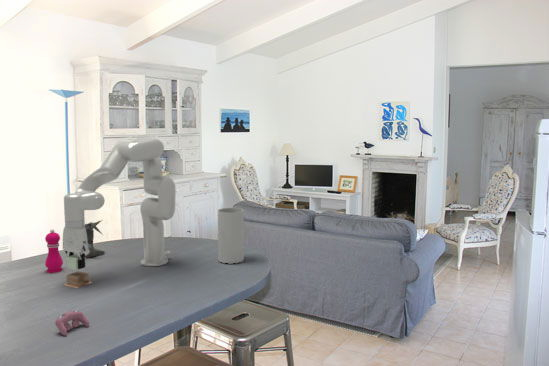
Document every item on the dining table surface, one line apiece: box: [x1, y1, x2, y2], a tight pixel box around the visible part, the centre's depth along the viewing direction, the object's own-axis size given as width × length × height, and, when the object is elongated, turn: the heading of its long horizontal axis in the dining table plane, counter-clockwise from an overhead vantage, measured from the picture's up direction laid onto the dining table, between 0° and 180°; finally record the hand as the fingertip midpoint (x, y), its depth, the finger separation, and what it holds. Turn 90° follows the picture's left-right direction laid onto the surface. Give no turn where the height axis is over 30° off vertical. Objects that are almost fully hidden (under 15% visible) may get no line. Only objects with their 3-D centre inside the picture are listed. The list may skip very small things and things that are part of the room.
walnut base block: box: [66, 270, 90, 287], centre depth 208 cm, size 6×6×4 cm
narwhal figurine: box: [85, 219, 105, 259], centre depth 248 cm, size 14×15×18 cm
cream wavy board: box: [63, 281, 93, 289], centre depth 213 cm, size 17×15×1 cm
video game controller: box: [54, 310, 90, 337], centre depth 167 cm, size 10×5×7 cm, turn 146°
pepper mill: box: [44, 229, 64, 274], centre depth 223 cm, size 7×7×20 cm
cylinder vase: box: [217, 207, 245, 265], centre depth 243 cm, size 12×12×25 cm
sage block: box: [66, 253, 87, 271], centre depth 206 cm, size 5×5×5 cm
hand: (76, 266), depth 207 cm, fingers closed on sage block, 5 cm apart
